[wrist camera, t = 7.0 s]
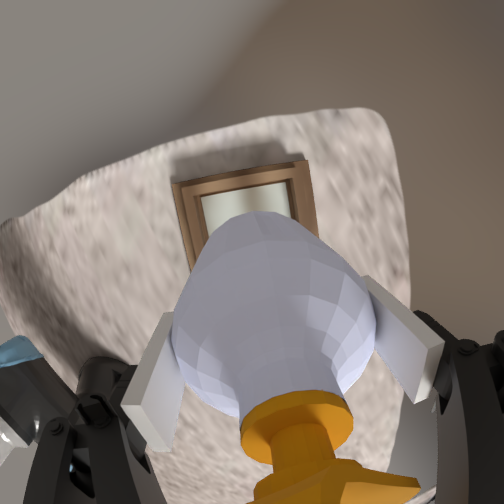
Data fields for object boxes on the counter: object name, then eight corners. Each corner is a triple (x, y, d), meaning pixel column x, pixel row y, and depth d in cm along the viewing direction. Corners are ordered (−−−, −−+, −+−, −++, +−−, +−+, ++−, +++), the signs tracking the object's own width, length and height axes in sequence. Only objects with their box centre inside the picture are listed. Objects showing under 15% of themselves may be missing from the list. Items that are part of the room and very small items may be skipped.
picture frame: (198, 294, 39) (194, 306, 35) (173, 184, 35) (165, 185, 31) (320, 271, 39) (328, 281, 35) (306, 160, 35) (313, 158, 31)
